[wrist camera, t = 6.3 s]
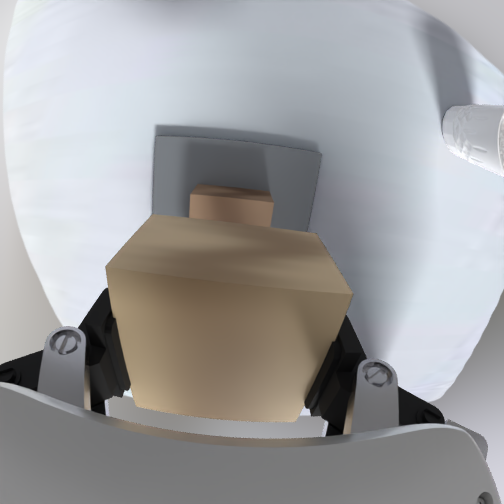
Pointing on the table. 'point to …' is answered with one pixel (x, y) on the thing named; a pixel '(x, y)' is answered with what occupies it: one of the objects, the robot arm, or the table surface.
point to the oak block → (225, 317)
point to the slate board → (235, 175)
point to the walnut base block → (231, 205)
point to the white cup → (476, 135)
